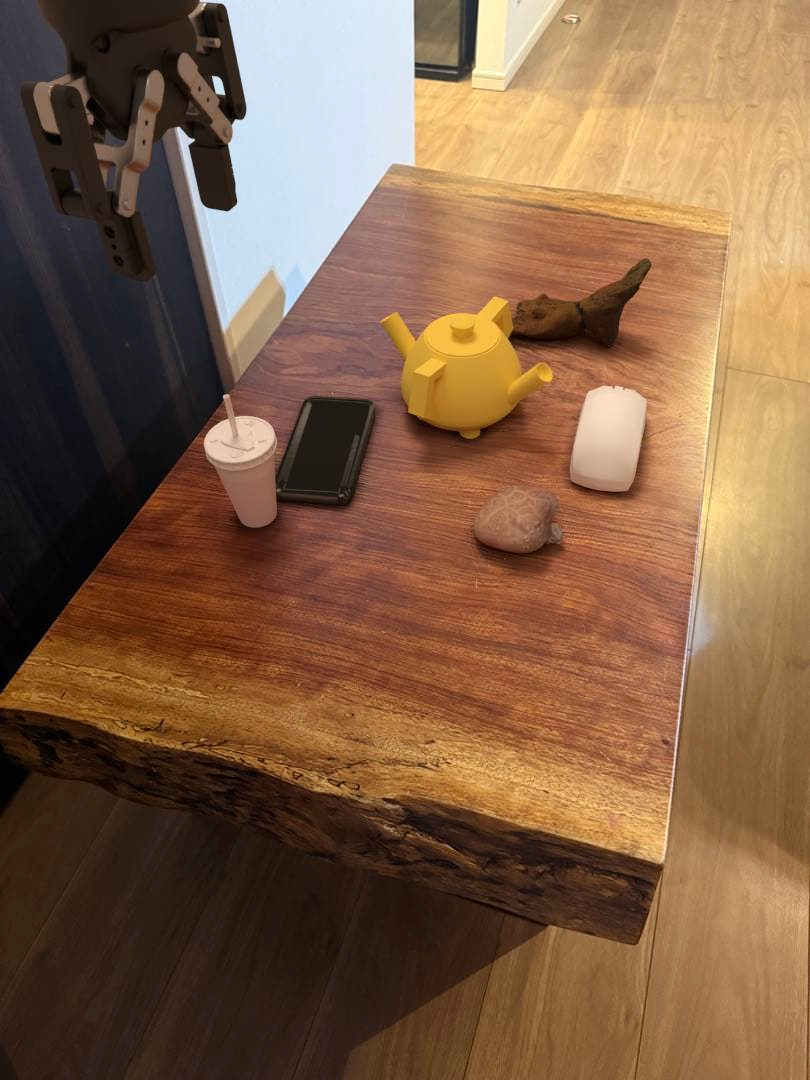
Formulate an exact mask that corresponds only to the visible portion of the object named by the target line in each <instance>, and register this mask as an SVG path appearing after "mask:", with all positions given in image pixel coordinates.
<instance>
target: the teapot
mask: <svg viewBox="0 0 810 1080" xmlns="http://www.w3.org/2000/svg"><path fill="white" fill-rule="evenodd" d="M512 318H513V317H512V313H511V308H510V303H509V301H508V300H506V299H503V298H501V297H499V296H495V295H494V296H492V298H491V299H490V300H489V301H488V302H487V304H486V305H484V307H483V308H482V309H481V310H480V311H479V312H478V313H477V314H474V313H466V312H460V313H451V314H448V315H446V314H445V315H444V316H441V317H439V318H437V319H435V320H433V321H432V322H431V323H429V325H427V327H426V328H425V329H424V330H423V331H422V332H421V334H420V335H419V336H418V338H417V339H415V337H414V336H413V334H412V333H411V331H410V329H408V327H407V324H405V322H404V320H403V319H402V317H401V316H400V314H399V313H398V311H395V312H393V313H391V314H389V315H387V317H385V318H383V319H382V320H381V321H380V324H381V325H382V327H383V328H384V330H385V332H386V334H387V335H388V337H389V338H390V340H391V342H392V343H393V345H394V347H395V349H396V350H397V352H398V354H399V355H400V356H401V358H402V360H403V361H404V363H403V364H404V365H403V368H402V372H401V378H400V391H401V396H402V400H404V402H405V405H406V406H407V408H408V409H407V413H408V414H411V415H414V416H416V417H417V419H418V420H421V421H422V422H426V423H428V424H429V425H432V426H433V427H436V428H439V429H441V430H446V431H450V432H451V431H453V432H459V435H460V436H461V437H462V438H465V439H468V440H469V439H471V440H472V439H476V438H477V437H479V436H480V435H481V429H485V428H487V427H490V426H492V425H494V424H496V423H497V422H499V421H501V420H502V419H503V418H505V417H506V416H507V415H509V414H510V413H511V412H512V411H513V410H514V409H515V408H516V407H517V405H518V403H519V402H520V401H522V400H523V399H525V398H527V397H528V396H529V395H531V394H533V393H534V392H535V391H537V390H539V389H540V388H543V387H544V386H545V385H547V384H548V383H550V382H551V381H552V380H553V377H554V373H553V370H552V369H551V367H550V366H549V365H548V364H546V363H545V362H539V363H537V364H536V365H534V366H533V367H531V368H530V369H528V370H527V371H526V372H525V373H523V371H522V365H521V361H520V359H519V357H518V354H517V352H516V350H515V348H514V347H513V345H512V343H511V342H510V340H509V338H510V336H511V335H512V334H511V332H512V330H513V323H512ZM510 334H511V335H510Z"/></svg>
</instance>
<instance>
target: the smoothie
mask: <svg viewBox="0 0 810 1080" xmlns="http://www.w3.org/2000/svg"><path fill="white" fill-rule="evenodd" d="M222 399H223V402H224V407H225V411H226V415H227V419H223V420H222V421H220V422H218V423H217V424H215V425H214V426H213V427H212V428H210V429H209V431H208V432H207V433H206V435H205V437H204V440H203V448H204V452H205V456H206V459H207V460H208V461H209V463H211V464H212V465H213V466H214V468H215V470H216V472H217V474H218V477H219V479H220V481H221V483H222V485H223V488H224V489H225V492H226V493H227V496H228V498H229V500H230V502H231V505H232V506H233V508H234V511H235V513H236V515H237V517H238V519H239V521H240V523H241V524H242V525H244V526H245V527H249V528H252V529H253V528H255V529H256V528H262V527H265V526H267V525H269V524H271V523H272V522H273V521H274V520H275V519H276V517H277V515H278V514H277V513H278V507H277V506H278V505H277V497H276V482H275V477H276V464H275V463H276V461H275V460H276V459H275V451H276V449H277V447H278V446H277V445H278V440H277V437H276V436H277V435H276V433H275V430H274V428H273V426H272V425H271V423H269V422H268V421H267V420H264V419H263V418H260V417H256V416H250V415H239V416H235V413H234V408H233V404H232V400H231V395H230V394H223V396H222Z"/></svg>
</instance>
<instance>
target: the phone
mask: <svg viewBox="0 0 810 1080" xmlns="http://www.w3.org/2000/svg"><path fill="white" fill-rule="evenodd" d="M375 416H376V410H375V403H374V401H373V400H371V399H367V398H354V397H341V396H340V397H339V396H337V397H336V396H327V395H326V396H324V395H311V396H308V397H306V398H305V399H304V401H303V402H302V404H301V408H300V410H299V413H298V416H297V418H296V421H295V424H294V427H293V429H292V432H291V435H290V437H289V440H288V443H287V444H286V448H285V450H284V453H283V456H282V458H281V461H280V464H279V466H278V469H277V472H276V474H275V482H276V499H277V500H280V501H285V502H299V503H307V504H318V505H319V504H320V505H330V506H343V505H346V504H348V503H349V502H351V500H352V498H353V494H354V490H355V487H356V483H357V479H358V476H359V472H360V469H361V465H362V462H363V460H364V459H363V458H364V455H365V452H366V448H367V444H368V440H369V437H370V433H371V430H372V426H373V423H374V419H375Z"/></svg>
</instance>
